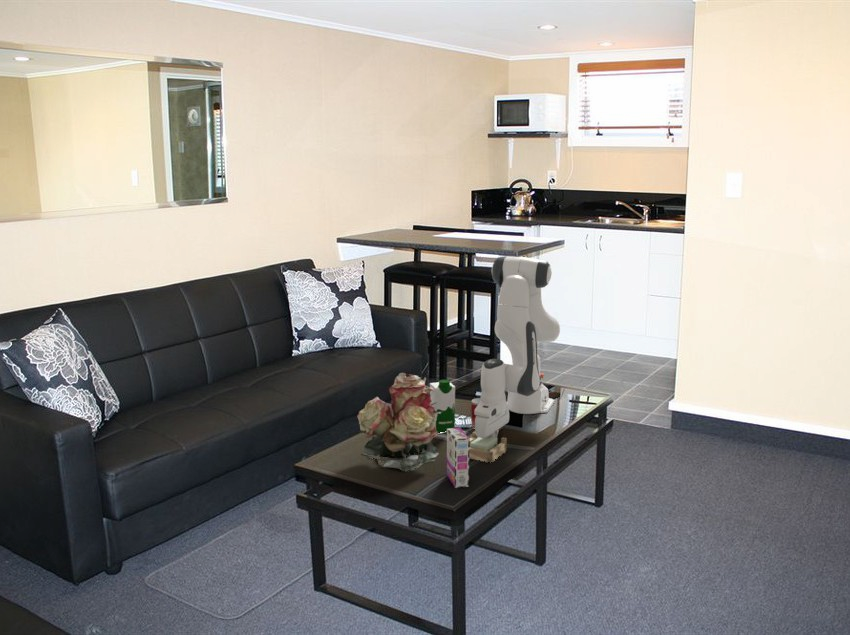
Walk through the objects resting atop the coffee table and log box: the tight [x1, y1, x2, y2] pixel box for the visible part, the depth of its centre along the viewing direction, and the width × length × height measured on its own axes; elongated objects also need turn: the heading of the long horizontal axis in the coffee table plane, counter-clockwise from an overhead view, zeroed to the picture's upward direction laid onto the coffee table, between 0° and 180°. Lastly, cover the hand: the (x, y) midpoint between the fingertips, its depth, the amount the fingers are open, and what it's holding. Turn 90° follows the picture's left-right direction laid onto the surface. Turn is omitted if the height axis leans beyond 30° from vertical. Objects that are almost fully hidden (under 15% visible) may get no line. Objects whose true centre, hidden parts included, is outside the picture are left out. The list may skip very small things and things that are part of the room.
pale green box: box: [470, 434, 498, 451], centre depth 286 cm, size 9×7×6 cm
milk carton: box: [429, 379, 456, 433], centre depth 307 cm, size 9×9×20 cm
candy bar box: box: [446, 427, 470, 489], centre depth 261 cm, size 11×5×16 cm, turn 13°
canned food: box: [470, 397, 481, 427], centre depth 309 cm, size 8×8×11 cm
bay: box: [469, 431, 508, 464], centre depth 285 cm, size 12×13×5 cm
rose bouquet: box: [356, 372, 440, 473], centre depth 280 cm, size 26×29×30 cm
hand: (492, 441), depth 292 cm, fingers closed
